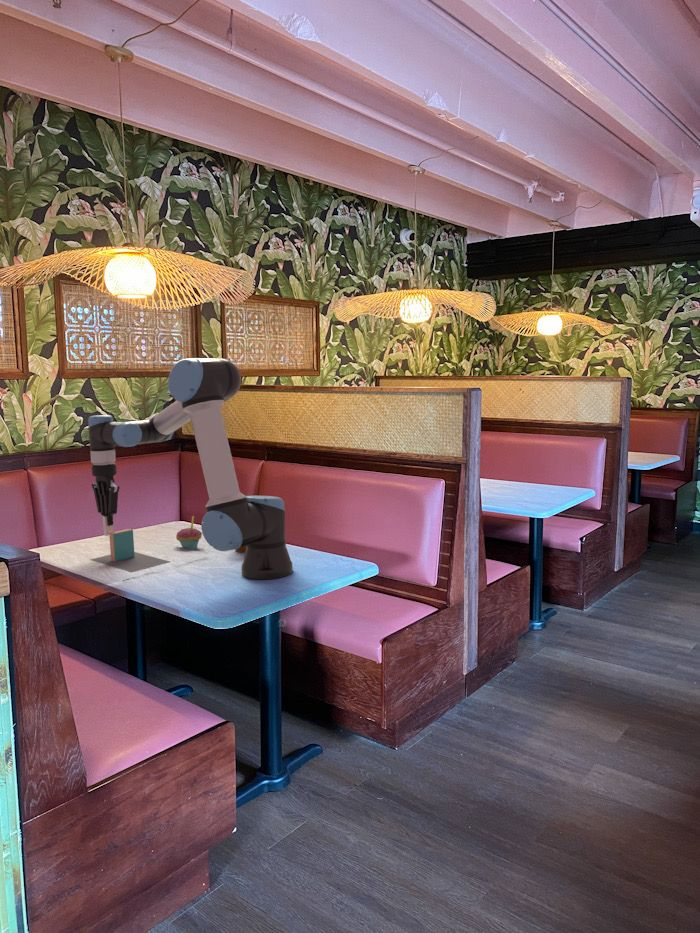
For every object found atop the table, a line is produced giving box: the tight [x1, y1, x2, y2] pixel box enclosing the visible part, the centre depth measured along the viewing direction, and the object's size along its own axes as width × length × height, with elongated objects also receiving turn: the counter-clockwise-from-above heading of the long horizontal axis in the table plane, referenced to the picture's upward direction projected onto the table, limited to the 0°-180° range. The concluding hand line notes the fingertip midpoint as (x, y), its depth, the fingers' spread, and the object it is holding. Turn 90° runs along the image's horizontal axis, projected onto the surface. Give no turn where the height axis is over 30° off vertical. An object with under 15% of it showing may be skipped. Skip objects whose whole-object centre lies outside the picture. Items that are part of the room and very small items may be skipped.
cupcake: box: [175, 513, 203, 551], centre depth 235 cm, size 9×8×12 cm
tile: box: [108, 528, 135, 562], centre depth 220 cm, size 2×7×9 cm, turn 140°
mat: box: [89, 551, 171, 573], centre depth 218 cm, size 24×14×1 cm, turn 50°
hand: (108, 534), depth 224 cm, fingers closed
